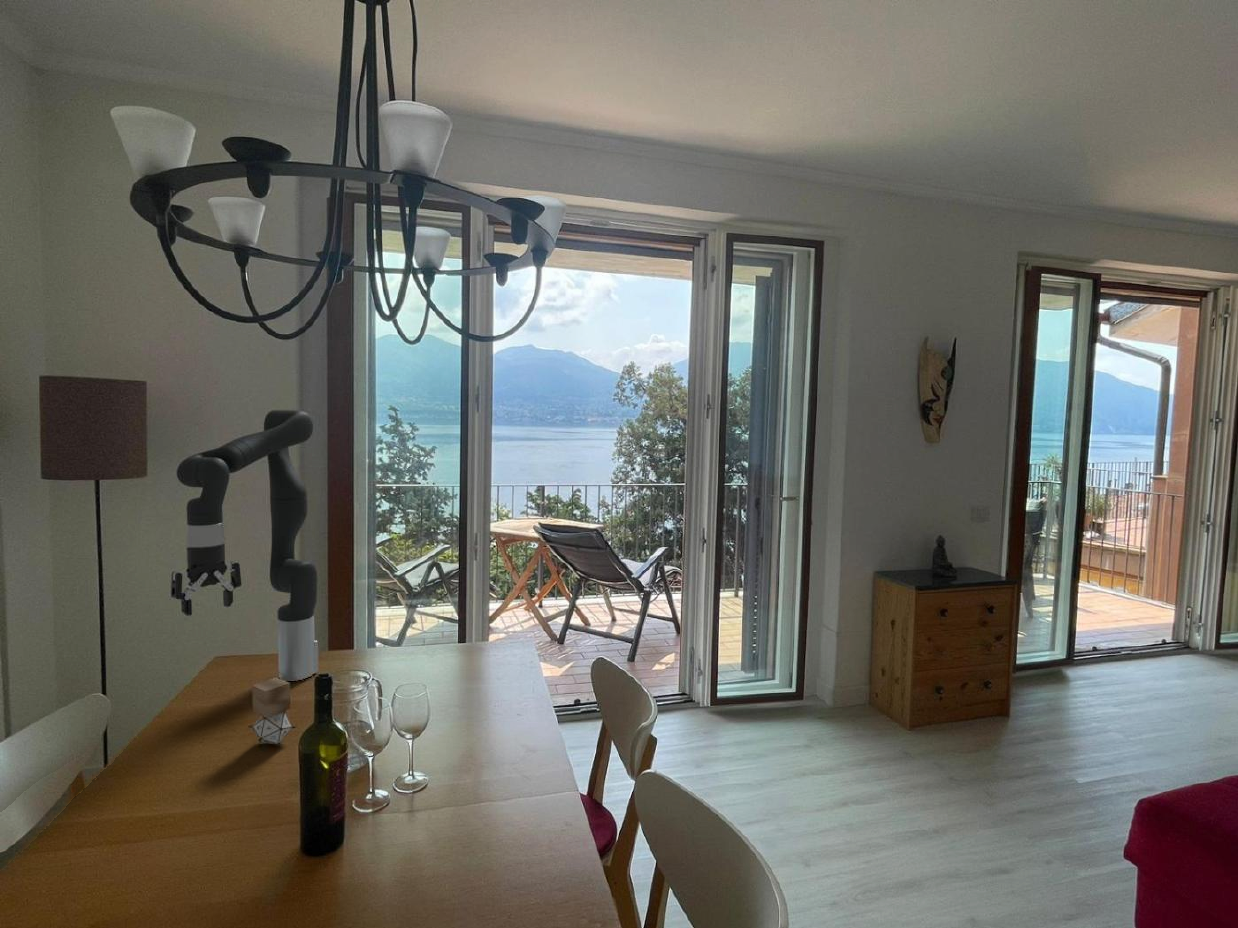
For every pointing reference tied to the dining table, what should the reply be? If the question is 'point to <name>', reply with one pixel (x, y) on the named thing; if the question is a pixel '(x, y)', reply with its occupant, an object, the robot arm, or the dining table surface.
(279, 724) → the game die
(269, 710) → the wooden cube
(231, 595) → the robot arm
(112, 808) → the dining table surface
